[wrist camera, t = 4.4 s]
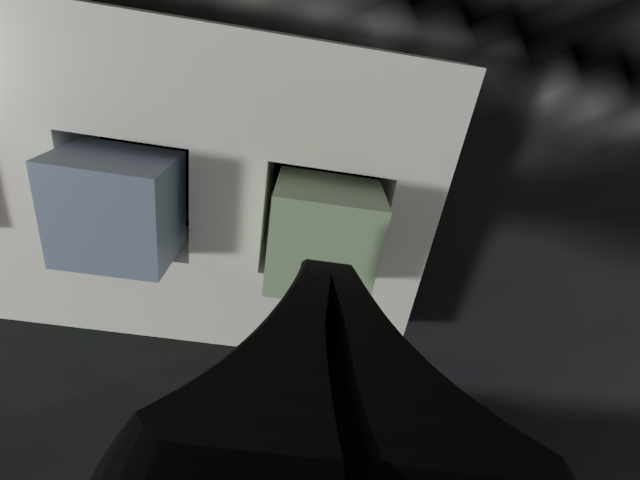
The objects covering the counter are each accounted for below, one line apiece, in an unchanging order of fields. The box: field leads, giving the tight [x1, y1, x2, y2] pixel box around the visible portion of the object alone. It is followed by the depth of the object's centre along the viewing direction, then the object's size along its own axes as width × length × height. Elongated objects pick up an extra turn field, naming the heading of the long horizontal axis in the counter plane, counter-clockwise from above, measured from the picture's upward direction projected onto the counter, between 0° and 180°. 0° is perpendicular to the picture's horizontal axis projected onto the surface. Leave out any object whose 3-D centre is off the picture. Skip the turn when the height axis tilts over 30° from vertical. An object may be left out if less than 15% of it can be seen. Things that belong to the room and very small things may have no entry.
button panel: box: [0, 0, 487, 346], centre depth 16 cm, size 22×12×3 cm, turn 82°
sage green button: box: [262, 166, 392, 299], centre depth 14 cm, size 4×4×3 cm
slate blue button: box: [25, 136, 186, 283], centre depth 14 cm, size 4×4×3 cm
